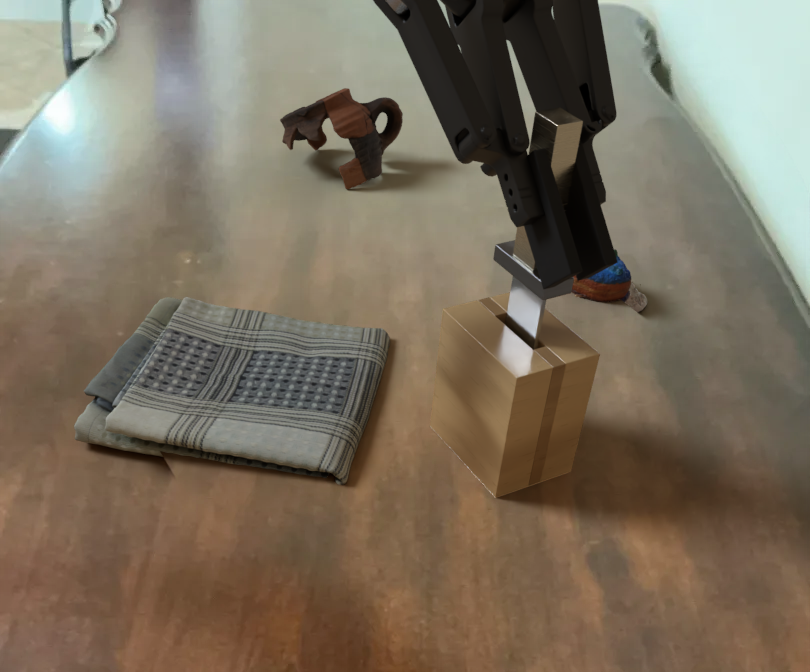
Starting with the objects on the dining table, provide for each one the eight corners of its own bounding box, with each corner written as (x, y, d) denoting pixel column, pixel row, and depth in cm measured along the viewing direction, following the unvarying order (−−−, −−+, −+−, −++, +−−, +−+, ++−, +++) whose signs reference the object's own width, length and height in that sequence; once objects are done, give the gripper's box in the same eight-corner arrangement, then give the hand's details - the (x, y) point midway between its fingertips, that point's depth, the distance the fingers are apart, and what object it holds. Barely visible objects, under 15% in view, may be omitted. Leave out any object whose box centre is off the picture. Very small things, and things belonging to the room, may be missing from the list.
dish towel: (395, 346, 74) (398, 309, 71) (345, 500, 61) (346, 460, 59) (159, 310, 75) (154, 272, 73) (61, 452, 62) (52, 412, 60)
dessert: (530, 285, 80) (569, 219, 79) (557, 303, 86) (595, 242, 84) (608, 332, 77) (650, 265, 75) (631, 347, 83) (671, 285, 81)
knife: (545, 419, 61) (605, 131, 48) (519, 427, 60) (573, 137, 47) (500, 376, 64) (546, 95, 51) (475, 384, 63) (514, 100, 50)
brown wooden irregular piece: (325, 204, 91) (287, 115, 87) (295, 207, 99) (259, 125, 96) (432, 152, 93) (400, 63, 90) (394, 158, 102) (363, 78, 98)
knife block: (568, 482, 64) (601, 353, 57) (493, 509, 61) (517, 378, 54) (500, 415, 68) (522, 288, 62) (428, 437, 66) (442, 308, 59)
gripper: (524, -123, 56) (641, 270, 58) (294, -112, 51) (432, 325, 52) (599, -224, 49) (730, 226, 51) (343, -225, 44) (501, 283, 45)
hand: (580, 275), depth 52 cm, fingers closed on knife, 2 cm apart
